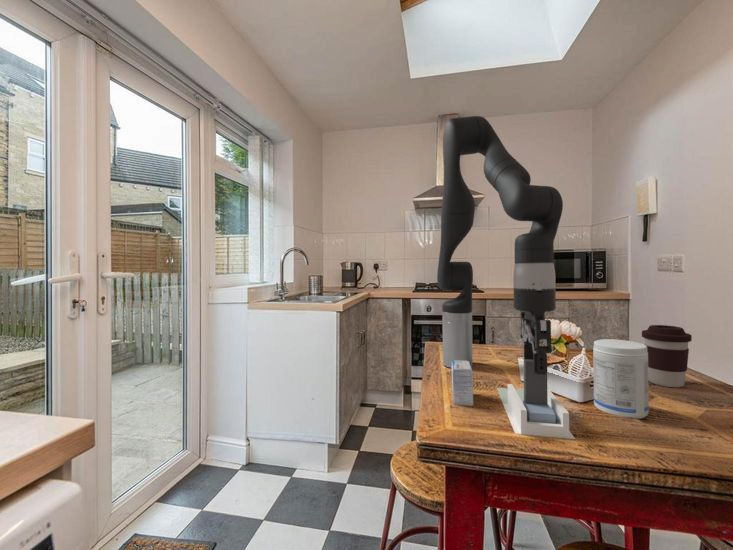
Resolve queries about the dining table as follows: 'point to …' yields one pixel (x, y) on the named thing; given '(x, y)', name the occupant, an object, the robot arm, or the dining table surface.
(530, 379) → the lane block
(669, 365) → the coffee cup
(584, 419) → the dining table surface
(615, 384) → the supplement tub
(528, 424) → the lane fixture
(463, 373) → the medicine box
